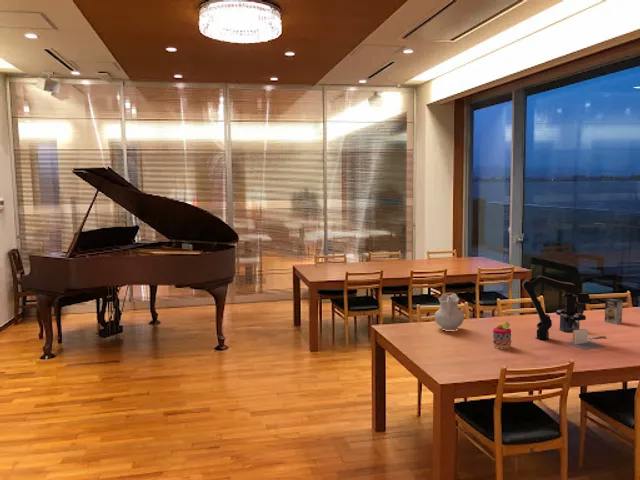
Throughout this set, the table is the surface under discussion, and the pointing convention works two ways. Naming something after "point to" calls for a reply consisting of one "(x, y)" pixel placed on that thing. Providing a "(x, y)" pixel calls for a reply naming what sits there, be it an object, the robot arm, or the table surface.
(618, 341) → the table surface
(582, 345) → the mat
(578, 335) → the tile
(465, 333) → the table surface
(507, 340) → the cake
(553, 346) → the table surface
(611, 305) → the coffee box
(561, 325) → the small box
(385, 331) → the table surface
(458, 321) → the ceramic pitcher
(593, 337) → the turner
